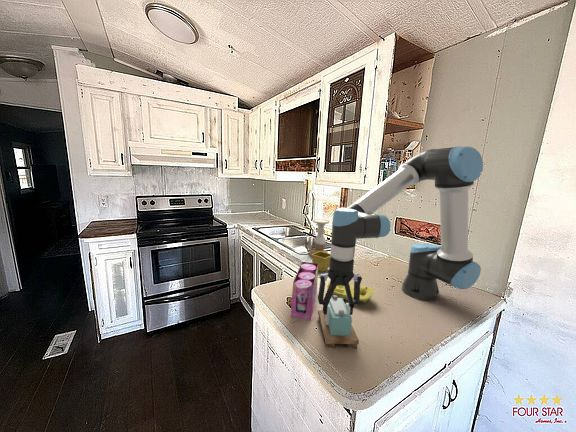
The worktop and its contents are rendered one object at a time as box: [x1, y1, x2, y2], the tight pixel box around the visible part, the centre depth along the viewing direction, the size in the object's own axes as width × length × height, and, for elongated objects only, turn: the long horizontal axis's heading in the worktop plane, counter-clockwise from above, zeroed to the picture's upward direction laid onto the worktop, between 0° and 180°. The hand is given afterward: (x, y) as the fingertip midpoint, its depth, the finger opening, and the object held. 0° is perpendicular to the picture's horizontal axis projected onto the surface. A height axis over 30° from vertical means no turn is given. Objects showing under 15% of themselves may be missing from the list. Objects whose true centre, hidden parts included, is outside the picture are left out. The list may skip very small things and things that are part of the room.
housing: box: [328, 295, 353, 336], centre depth 79 cm, size 12×6×7 cm, turn 2°
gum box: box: [290, 261, 319, 321], centre depth 96 cm, size 24×8×14 cm, turn 168°
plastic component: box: [326, 280, 376, 303], centre depth 104 cm, size 20×7×10 cm
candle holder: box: [307, 218, 330, 259], centre depth 151 cm, size 11×11×24 cm
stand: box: [317, 309, 360, 350], centre depth 80 cm, size 10×16×3 cm, turn 2°
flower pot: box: [311, 251, 331, 273], centre depth 132 cm, size 9×9×9 cm
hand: (336, 322), depth 80 cm, fingers closed on housing, 6 cm apart
